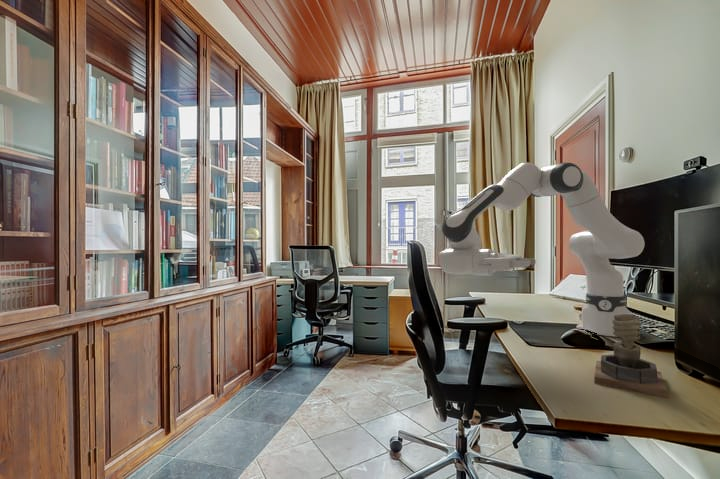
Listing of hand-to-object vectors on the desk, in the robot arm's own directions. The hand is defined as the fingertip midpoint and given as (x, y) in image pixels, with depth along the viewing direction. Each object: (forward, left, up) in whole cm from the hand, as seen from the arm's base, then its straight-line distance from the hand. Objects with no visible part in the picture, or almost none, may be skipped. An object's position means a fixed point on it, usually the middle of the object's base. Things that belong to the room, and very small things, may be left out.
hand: (532, 262), depth 97 cm
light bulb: (+5, +21, -27) cm, 35 cm away
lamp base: (+5, +21, -29) cm, 36 cm away
